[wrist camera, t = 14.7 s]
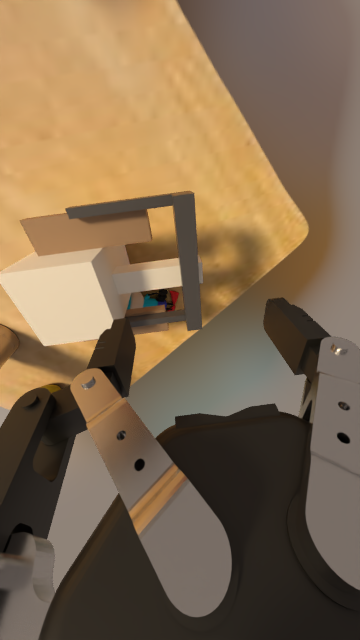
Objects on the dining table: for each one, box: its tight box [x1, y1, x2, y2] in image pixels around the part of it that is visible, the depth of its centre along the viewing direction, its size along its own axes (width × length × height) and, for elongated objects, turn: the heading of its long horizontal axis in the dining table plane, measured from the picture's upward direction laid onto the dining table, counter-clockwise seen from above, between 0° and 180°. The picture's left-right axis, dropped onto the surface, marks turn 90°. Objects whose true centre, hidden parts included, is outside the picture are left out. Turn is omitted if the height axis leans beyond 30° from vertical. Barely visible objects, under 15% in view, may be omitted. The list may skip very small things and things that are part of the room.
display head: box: [0, 209, 203, 346], centre depth 30 cm, size 22×18×17 cm
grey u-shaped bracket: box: [66, 191, 202, 331], centre depth 25 cm, size 13×16×4 cm
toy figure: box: [127, 289, 179, 312], centre depth 41 cm, size 8×5×15 cm
